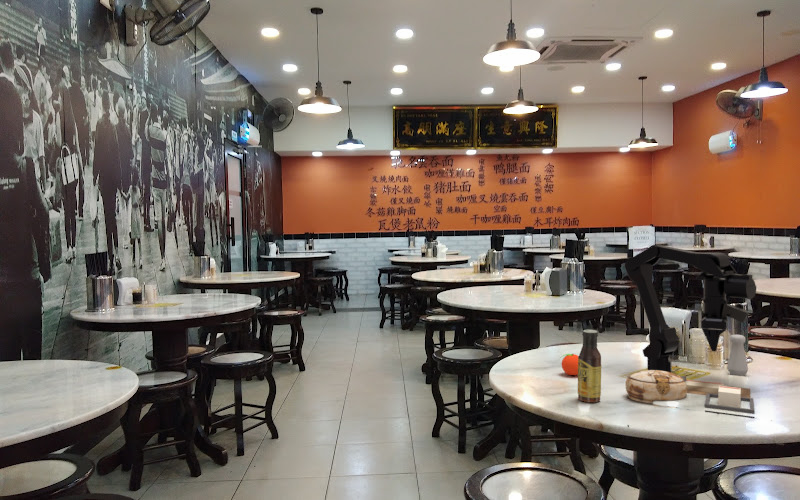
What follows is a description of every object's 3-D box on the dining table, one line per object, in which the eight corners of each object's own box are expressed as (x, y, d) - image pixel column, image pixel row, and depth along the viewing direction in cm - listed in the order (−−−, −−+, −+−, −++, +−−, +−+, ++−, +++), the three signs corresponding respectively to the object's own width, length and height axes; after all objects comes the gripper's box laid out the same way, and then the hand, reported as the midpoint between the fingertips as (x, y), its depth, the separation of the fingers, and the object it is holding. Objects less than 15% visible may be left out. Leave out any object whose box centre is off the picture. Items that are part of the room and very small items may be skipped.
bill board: (676, 395, 162) (676, 383, 162) (680, 384, 173) (680, 373, 173) (750, 404, 153) (751, 392, 153) (749, 392, 164) (749, 380, 163)
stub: (718, 408, 149) (718, 391, 149) (719, 401, 154) (719, 385, 154) (740, 411, 147) (740, 393, 146) (740, 404, 152) (740, 387, 152)
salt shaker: (751, 378, 178) (751, 337, 177) (730, 377, 179) (731, 336, 179) (743, 373, 184) (744, 333, 183) (724, 372, 185) (724, 333, 184)
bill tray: (704, 411, 149) (704, 404, 149) (706, 399, 158) (706, 392, 158) (754, 418, 143) (754, 410, 143) (753, 405, 153) (753, 398, 152)
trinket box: (618, 397, 163) (618, 369, 163) (653, 388, 170) (653, 362, 170) (659, 410, 151) (659, 381, 151) (694, 400, 158) (694, 372, 158)
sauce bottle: (574, 397, 163) (573, 328, 162) (595, 396, 164) (594, 327, 163) (583, 404, 157) (583, 333, 156) (605, 403, 157) (605, 332, 156)
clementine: (557, 376, 185) (556, 355, 184) (559, 371, 191) (559, 350, 191) (582, 379, 182) (582, 356, 181) (584, 373, 188) (584, 352, 188)
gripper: (747, 301, 156) (747, 357, 156) (746, 292, 172) (745, 344, 172) (701, 299, 161) (701, 353, 162) (704, 291, 177) (704, 341, 178)
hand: (714, 347), depth 168 cm, fingers open, 9 cm apart
